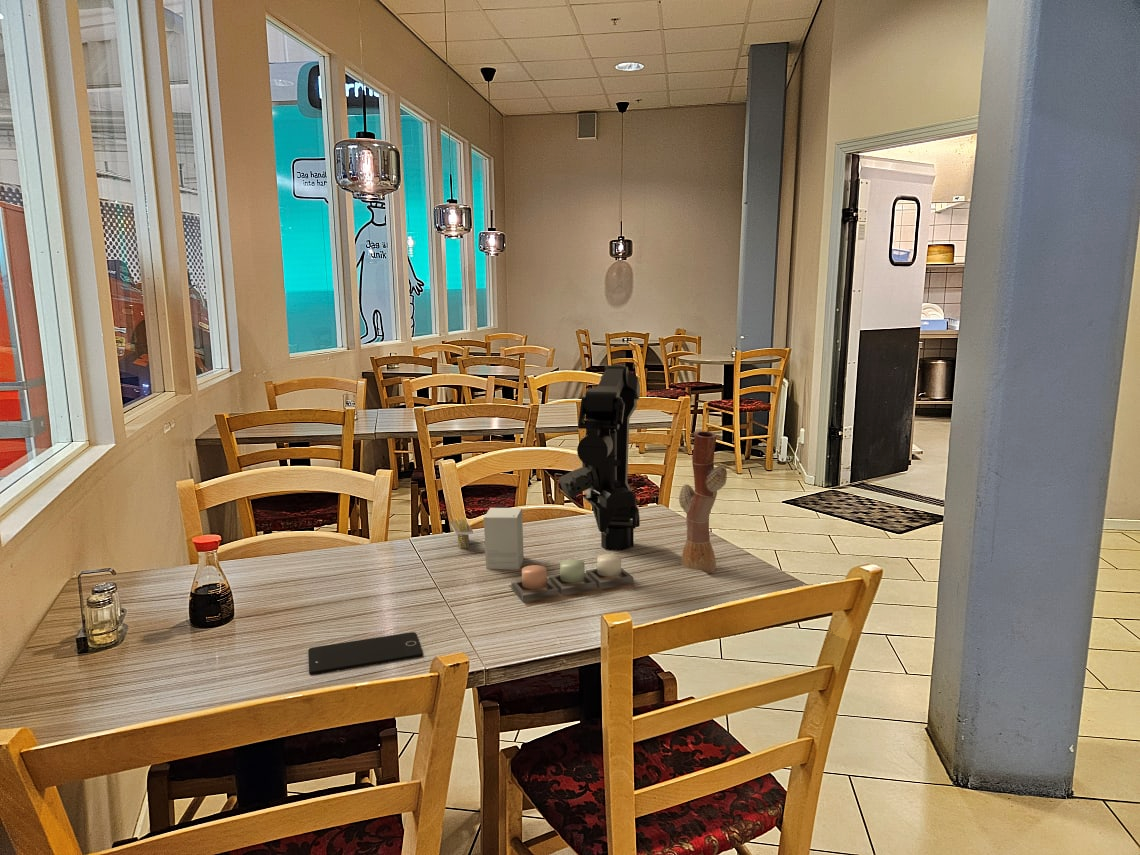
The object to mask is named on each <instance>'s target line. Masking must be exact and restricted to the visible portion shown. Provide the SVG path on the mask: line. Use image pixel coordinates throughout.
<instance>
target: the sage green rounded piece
mask: <svg viewBox="0 0 1140 855" xmlns="http://www.w3.org/2000/svg"><path fill="white" fill-rule="evenodd" d="M585 564H586V563H585V562H584V561H582V560H580V559H565V560H562V561H561V562H560V564H559V565H560V566H559V568H560V570H559V572H560V573H559V574H560V578H561V580H562V581H564V582H568V583H576V582H581V581H583V580H584V579H585V573H586V569H585Z"/></svg>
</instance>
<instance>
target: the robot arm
mask: <svg viewBox="0 0 1140 855" xmlns="http://www.w3.org/2000/svg"><path fill="white" fill-rule="evenodd" d="M640 398H641V385H640V381H639V377H638V376H637V375H635V374H634V373H632V372H630V371H629V367H628V366H625V365H617V364H614V365H610V364H608V365H607V366H604V368H603V373H602V375H601V376H600V380H599V383H598V385H597V386H595V387H590V388H589V389H588V390H586V391H585V394H584V396H582V397H581V399H580V400H581V401H580V408H579V415H578V416H579V417H578V423H577V428H578V429H579V430H581V429H582V430H585V436H584V437H582V439H580V441H579V443H578V446H577V448H576V451H577V452H576V453H577V456H578V458H579V460H580V461H581V462H582V466H581V467H579V468H577V469H574V470H572V471H570V472H568V473H565V474H563V475H561V476H560V477H558V480H559V484H560V487H561V489H562V491H563V494H565V495H567V496H568V497H570V498H574V497H576V496H579V494H581V493H583V492H585V493H584V494H582V495H581V496H582V498H584V499H585V500H586V501H587V502H588V503H589V504H590V506H591V508H592V512H593V514H594V518H595V523H596V525H597V529H598V531H599V532H600V533H601V534H600V536H601V537H600V538H601V539H600V540H601V545H600V547H601V548H602V549H604V551H626V550H629V549H631V548H633V547H634V546H635V544H634V530H635V529H636V528H638V527H640V525H641V521H640V519H641V518H640V511H639V510H640V509H639V508H638V506H637V495H636V494H635V493H634V492H633V490H632V489H631V486H630V484H629V483H628V474H629V472H628V470H629V447H630V446H629V442H630V441H629V440H630V438H629V437H630V419H631V416H632V415H633V414H634V412H635V410H636V409H637V406H638V400H640Z"/></svg>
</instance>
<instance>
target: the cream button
mask: <svg viewBox="0 0 1140 855" xmlns="http://www.w3.org/2000/svg"><path fill="white" fill-rule="evenodd" d="M596 564H597V565H596V567H597V568H596V569H597V573H598V574H599V575H601V576H606V577H613V576H618V575H620V574H621V568H622V557H621V555H619V554H618V555H617V554H612V553H606V554H605V553H604V554H600V555H598V556H597V557H596Z"/></svg>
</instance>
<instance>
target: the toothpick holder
mask: <svg viewBox="0 0 1140 855" xmlns="http://www.w3.org/2000/svg"><path fill="white" fill-rule="evenodd" d="M454 519H455V521H454V522H452V523H450V527H451V529H452V531H453V532H454V534H455V535H457V539H458V546H459V549H462V550H463V549H467V548H468V549H467V551H469V550H470V541H469V540H470V537H469V536H470V535H474V530H473V529H472V527H471V526H470V524H469V522H468V521H467V520H466V519H465V518H464V516H461V519H458V518H456V517H455V518H454Z"/></svg>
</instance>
